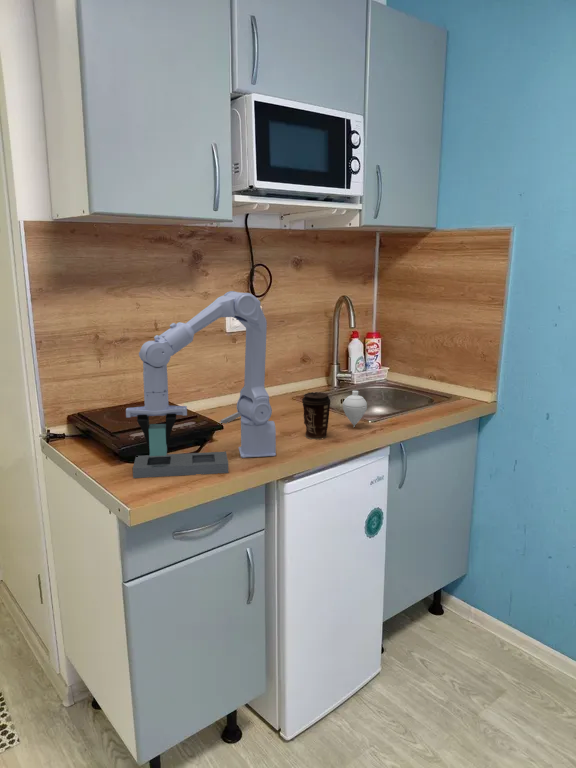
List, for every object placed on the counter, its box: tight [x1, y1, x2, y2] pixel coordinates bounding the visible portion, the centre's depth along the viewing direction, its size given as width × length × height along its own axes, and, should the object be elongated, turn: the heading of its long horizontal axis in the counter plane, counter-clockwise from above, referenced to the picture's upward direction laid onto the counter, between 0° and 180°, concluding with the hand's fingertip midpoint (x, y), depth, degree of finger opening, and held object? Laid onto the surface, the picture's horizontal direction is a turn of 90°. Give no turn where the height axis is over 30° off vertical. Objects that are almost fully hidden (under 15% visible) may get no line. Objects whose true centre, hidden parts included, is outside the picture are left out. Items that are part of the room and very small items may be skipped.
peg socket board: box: [132, 451, 229, 479], centre depth 142 cm, size 23×9×2 cm, turn 100°
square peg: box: [148, 423, 168, 456], centre depth 140 cm, size 4×4×7 cm
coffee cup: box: [301, 391, 331, 440], centre depth 169 cm, size 9×8×13 cm
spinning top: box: [342, 390, 368, 428], centre depth 178 cm, size 8×8×12 cm
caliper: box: [218, 411, 241, 424], centre depth 188 cm, size 20×1×6 cm, turn 136°
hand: (158, 443), depth 140 cm, fingers closed on square peg, 4 cm apart
